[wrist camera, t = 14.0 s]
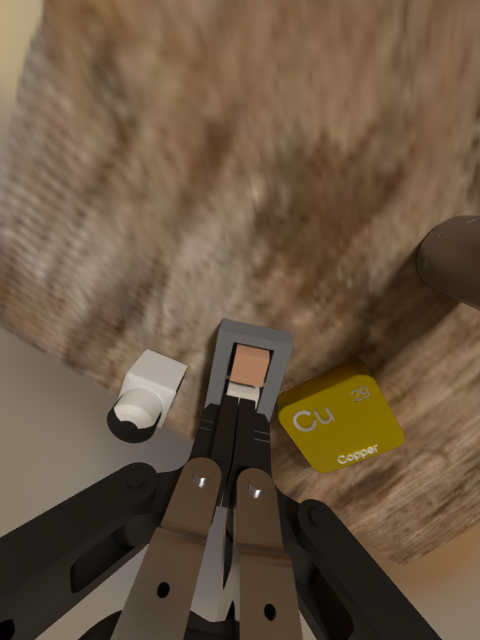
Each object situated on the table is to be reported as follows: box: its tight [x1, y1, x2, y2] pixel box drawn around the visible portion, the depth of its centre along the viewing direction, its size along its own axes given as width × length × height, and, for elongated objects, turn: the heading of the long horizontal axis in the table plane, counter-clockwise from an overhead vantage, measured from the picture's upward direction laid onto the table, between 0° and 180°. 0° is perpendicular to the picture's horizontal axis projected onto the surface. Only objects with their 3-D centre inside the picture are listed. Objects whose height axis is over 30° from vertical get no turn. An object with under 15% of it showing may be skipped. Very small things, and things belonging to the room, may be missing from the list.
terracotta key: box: [230, 343, 269, 387], centre depth 38 cm, size 4×4×4 cm
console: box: [204, 319, 293, 422], centre depth 43 cm, size 10×20×4 cm, turn 169°
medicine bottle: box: [107, 349, 188, 443], centre depth 39 cm, size 7×7×12 cm
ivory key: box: [226, 380, 259, 410], centre depth 41 cm, size 4×4×4 cm
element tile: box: [277, 361, 405, 473], centre depth 43 cm, size 15×15×5 cm
